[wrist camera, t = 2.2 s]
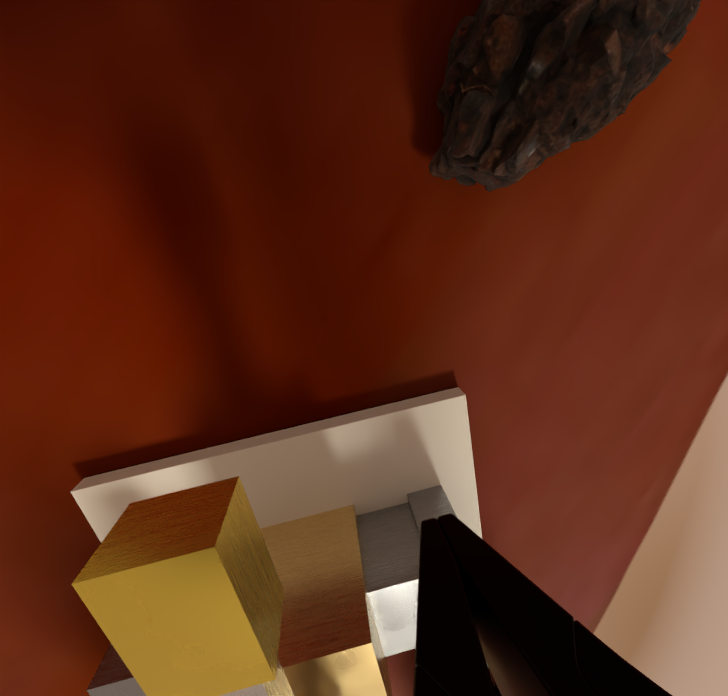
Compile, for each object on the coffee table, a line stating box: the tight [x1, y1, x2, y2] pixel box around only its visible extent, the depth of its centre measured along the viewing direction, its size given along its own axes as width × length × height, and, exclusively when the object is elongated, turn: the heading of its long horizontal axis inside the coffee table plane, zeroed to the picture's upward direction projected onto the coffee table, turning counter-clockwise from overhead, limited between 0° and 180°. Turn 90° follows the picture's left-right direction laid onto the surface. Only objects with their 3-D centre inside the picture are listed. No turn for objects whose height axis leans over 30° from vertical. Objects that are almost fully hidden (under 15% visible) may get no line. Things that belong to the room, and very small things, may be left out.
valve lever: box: [72, 476, 294, 696], centre depth 10 cm, size 14×3×3 cm, turn 11°
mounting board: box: [71, 387, 482, 543], centre depth 20 cm, size 15×20×1 cm
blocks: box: [87, 485, 489, 696], centre depth 16 cm, size 6×16×7 cm, turn 101°
